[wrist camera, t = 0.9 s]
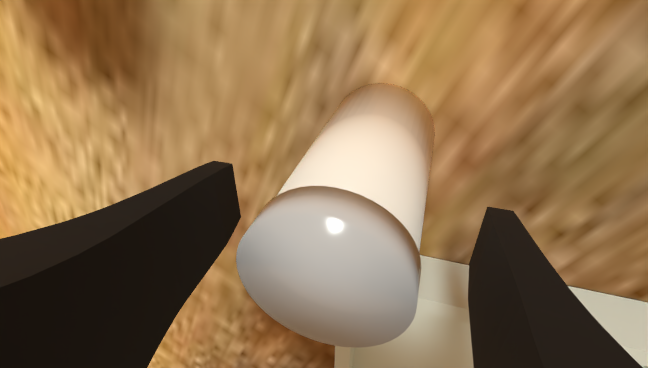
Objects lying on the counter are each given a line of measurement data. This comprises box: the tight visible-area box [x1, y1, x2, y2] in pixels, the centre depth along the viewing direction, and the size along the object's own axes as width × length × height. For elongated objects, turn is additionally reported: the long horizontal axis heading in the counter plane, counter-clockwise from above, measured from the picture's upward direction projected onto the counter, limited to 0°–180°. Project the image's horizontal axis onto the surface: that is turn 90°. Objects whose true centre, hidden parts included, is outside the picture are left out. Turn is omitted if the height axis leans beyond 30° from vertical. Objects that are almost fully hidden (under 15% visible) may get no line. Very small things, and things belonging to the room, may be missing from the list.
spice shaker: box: [236, 83, 435, 348], centre depth 12 cm, size 4×4×8 cm
